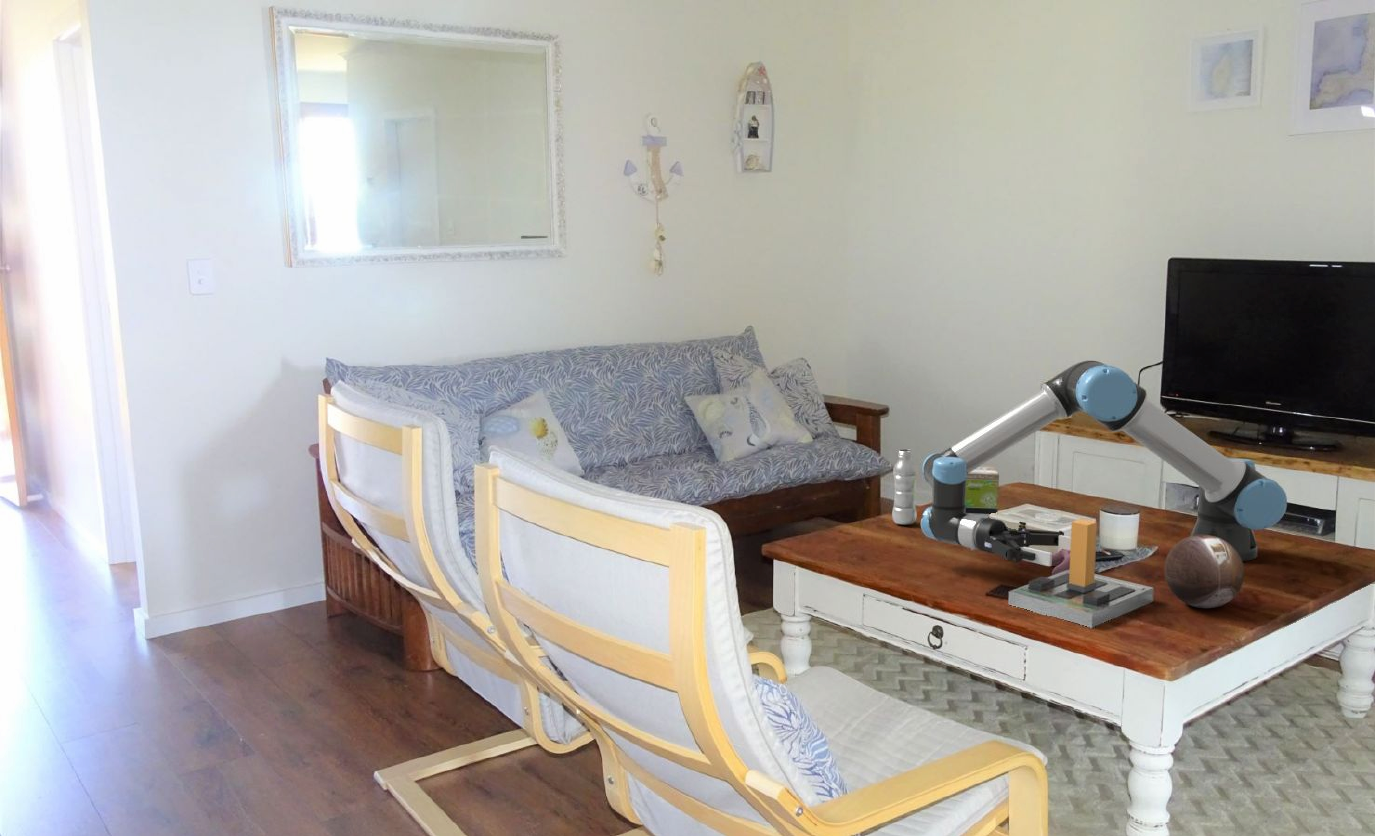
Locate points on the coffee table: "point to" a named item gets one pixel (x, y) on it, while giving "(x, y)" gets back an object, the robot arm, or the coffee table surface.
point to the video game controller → (1061, 561)
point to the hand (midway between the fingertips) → (1069, 553)
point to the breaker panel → (1081, 598)
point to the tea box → (982, 491)
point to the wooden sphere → (1204, 571)
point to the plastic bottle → (904, 488)
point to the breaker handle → (1082, 556)
